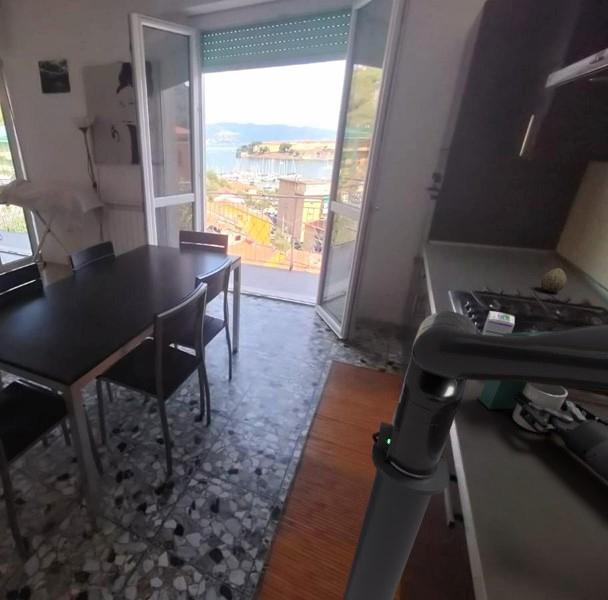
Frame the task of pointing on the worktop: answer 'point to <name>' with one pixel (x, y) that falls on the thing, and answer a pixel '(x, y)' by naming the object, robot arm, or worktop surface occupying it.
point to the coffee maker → (504, 385)
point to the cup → (541, 400)
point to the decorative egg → (553, 280)
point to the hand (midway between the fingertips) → (531, 394)
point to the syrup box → (498, 324)
